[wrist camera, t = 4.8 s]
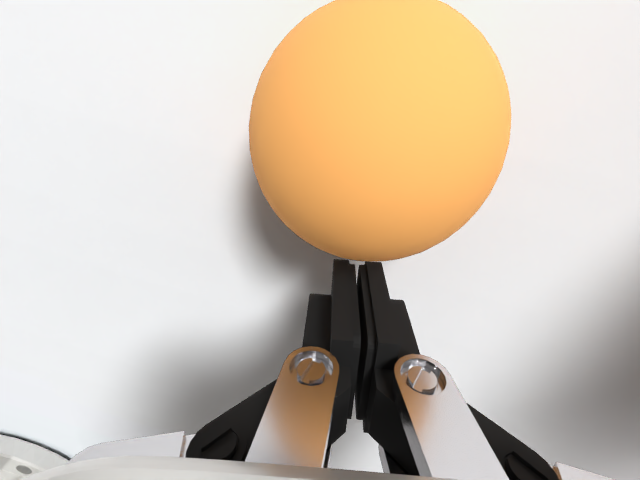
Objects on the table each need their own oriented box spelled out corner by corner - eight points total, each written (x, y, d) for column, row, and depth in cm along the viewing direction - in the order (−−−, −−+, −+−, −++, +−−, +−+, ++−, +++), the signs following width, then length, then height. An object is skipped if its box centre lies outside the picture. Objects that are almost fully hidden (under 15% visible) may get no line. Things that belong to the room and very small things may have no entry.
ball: (542, 106, 3) (474, -165, 5) (156, 216, 6) (222, 12, 8) (534, 282, 8) (500, 96, 10) (319, 294, 11) (332, 149, 13)
